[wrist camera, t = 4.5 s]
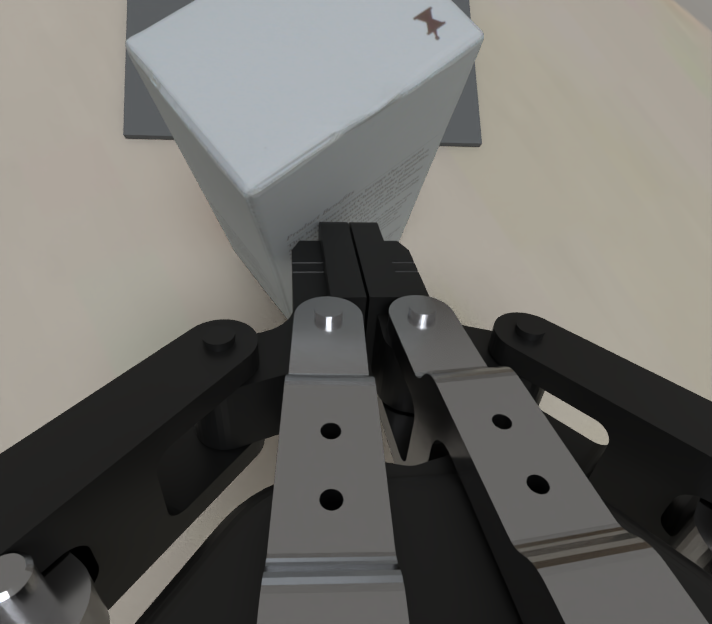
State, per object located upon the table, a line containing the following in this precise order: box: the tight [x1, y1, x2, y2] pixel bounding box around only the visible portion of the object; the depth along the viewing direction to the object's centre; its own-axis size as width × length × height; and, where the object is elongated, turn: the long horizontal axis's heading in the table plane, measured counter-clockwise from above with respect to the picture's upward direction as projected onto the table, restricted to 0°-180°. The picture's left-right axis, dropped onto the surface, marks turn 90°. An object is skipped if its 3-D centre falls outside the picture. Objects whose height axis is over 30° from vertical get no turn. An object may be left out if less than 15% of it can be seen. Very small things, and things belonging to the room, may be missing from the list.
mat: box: [123, 0, 482, 147], centre depth 23 cm, size 12×16×1 cm
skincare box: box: [125, 0, 484, 319], centre depth 15 cm, size 6×4×12 cm
